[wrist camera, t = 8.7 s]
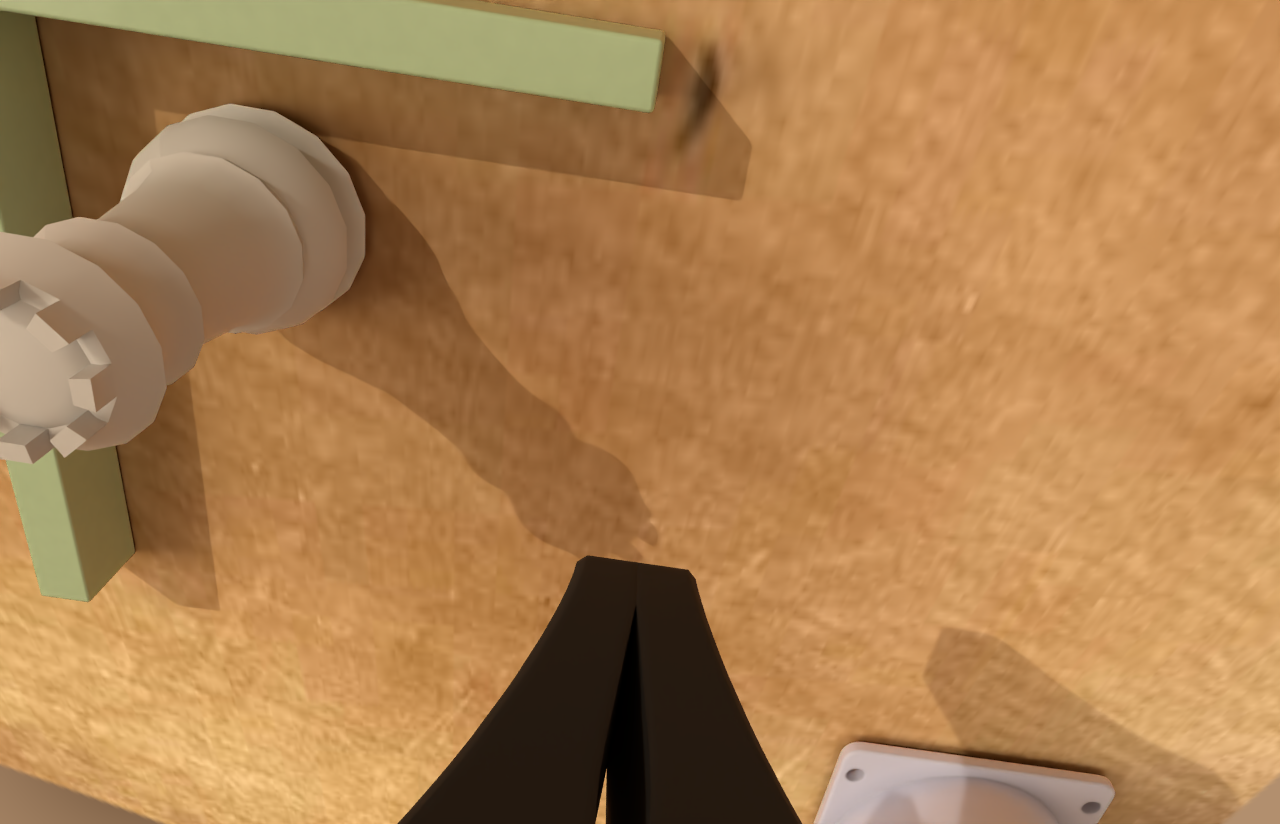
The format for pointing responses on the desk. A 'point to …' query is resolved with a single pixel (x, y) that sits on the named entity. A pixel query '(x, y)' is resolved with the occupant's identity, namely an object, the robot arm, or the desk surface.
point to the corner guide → (285, 25)
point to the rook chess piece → (169, 276)
